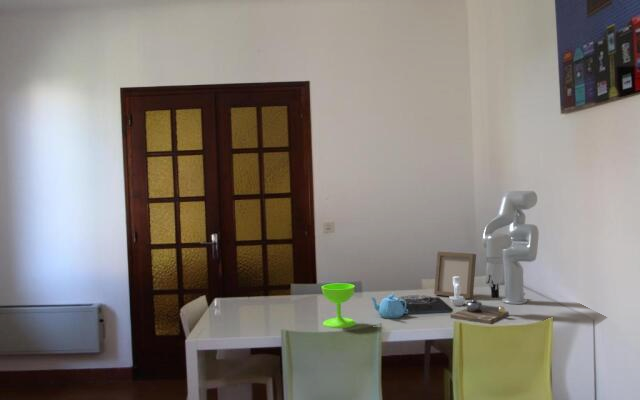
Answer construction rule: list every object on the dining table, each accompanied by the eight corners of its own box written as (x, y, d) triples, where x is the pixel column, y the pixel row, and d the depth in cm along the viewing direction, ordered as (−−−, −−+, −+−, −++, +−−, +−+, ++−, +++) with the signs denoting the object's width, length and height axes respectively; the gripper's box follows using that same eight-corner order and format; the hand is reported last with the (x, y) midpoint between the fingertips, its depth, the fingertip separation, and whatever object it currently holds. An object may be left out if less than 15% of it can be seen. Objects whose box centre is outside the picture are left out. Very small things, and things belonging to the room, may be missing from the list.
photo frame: (469, 300, 309) (468, 254, 309) (434, 295, 324) (432, 252, 323) (481, 295, 321) (479, 251, 320) (446, 291, 335) (445, 249, 334)
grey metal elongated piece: (464, 311, 278) (464, 300, 277) (471, 308, 283) (471, 298, 283) (501, 316, 265) (501, 305, 265) (507, 313, 270) (507, 302, 270)
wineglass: (363, 323, 267) (361, 286, 266) (336, 330, 258) (334, 291, 257) (342, 317, 280) (341, 282, 279) (316, 323, 271) (314, 286, 270)
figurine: (452, 306, 295) (451, 278, 294) (448, 302, 304) (447, 275, 304) (466, 306, 295) (465, 278, 294) (462, 302, 304) (461, 274, 304)
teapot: (412, 316, 278) (411, 296, 278) (388, 321, 270) (387, 300, 270) (393, 311, 290) (392, 291, 290) (369, 315, 282) (369, 295, 282)
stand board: (471, 309, 288) (470, 306, 288) (508, 314, 274) (508, 311, 274) (450, 317, 272) (450, 314, 272) (489, 323, 259) (489, 320, 259)
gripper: (494, 258, 285) (494, 294, 285) (480, 261, 273) (481, 299, 274) (508, 259, 280) (508, 296, 280) (495, 262, 268) (495, 300, 269)
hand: (495, 297), depth 277 cm, fingers closed
